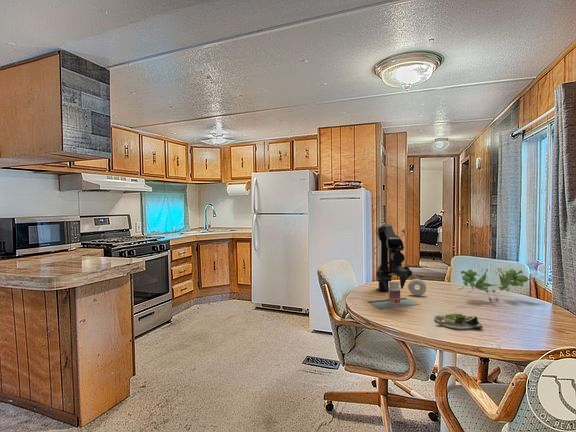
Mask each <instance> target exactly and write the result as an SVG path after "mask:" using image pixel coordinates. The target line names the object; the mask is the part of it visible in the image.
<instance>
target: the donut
mask: <svg viewBox="0 0 576 432" xmlns="http://www.w3.org/2000/svg"><path fill="white" fill-rule="evenodd" d="M415 286H419V289H416V288H415ZM407 288H408V291H409V293H410V294H412V295H414V296H415V297H416V296H417V297H420V296H423V295H424V294H425V293H426V291H427V285H426V283H425V282H424V280H422V279H419V278H414V279H412V280H410V281H409V283H408V284H407Z"/></svg>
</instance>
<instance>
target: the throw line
mask: <svg viewBox="0 0 576 432" xmlns="http://www.w3.org/2000/svg"><path fill="white" fill-rule="evenodd" d="M405 299H408V298H407V297H400V300H405ZM384 301H388V298H387V299H378V300H368V301H367V303H369V304H370V303H374V302H384Z"/></svg>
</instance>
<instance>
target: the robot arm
mask: <svg viewBox="0 0 576 432" xmlns="http://www.w3.org/2000/svg"><path fill="white" fill-rule="evenodd" d="M376 235H377V238H378V240H379V241H380V264H379V266H378V268H377V271H376V275H375V280H376V282H378V288H376V291H378V292H381V293H384V292H385V293H386V292H388V288H389V287H390V286H389V282H392V278H393V277H392V276H397V277H399V287H400V290H401V289H402V290H403V289H404V286H405V284H406V281H407V280H408V279H409V278H411V277H412V276H413V271H412V270H411V269H410V267H409V266H403V264H402V263H403V262H404V261H405V255H404V253H402V251H404V250H405V249H404V248H405V246H404V242H403V240H402V238H401V236H399V235H397V234H396V233H395V231H394V229H393V226H392V224H383V225H382V226H380V227H378V228H377V229H376Z"/></svg>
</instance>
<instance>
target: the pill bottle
mask: <svg viewBox="0 0 576 432" xmlns="http://www.w3.org/2000/svg"><path fill="white" fill-rule="evenodd" d="M388 284H389V288H388V291H387V293H388V296H387V297H388V298H387V299H388V301H389V303H390V304H393V305H398V304H400V298H401V287H400V281H388Z"/></svg>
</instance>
